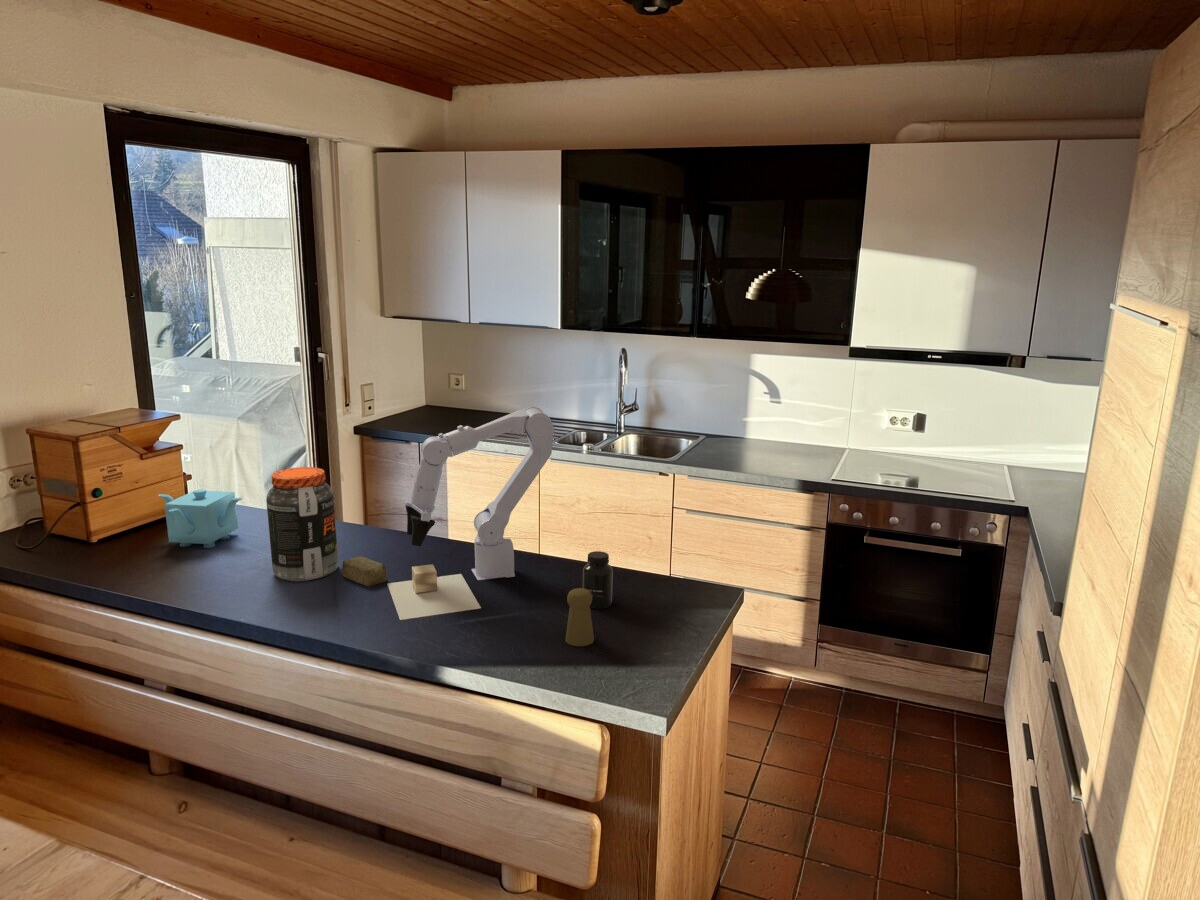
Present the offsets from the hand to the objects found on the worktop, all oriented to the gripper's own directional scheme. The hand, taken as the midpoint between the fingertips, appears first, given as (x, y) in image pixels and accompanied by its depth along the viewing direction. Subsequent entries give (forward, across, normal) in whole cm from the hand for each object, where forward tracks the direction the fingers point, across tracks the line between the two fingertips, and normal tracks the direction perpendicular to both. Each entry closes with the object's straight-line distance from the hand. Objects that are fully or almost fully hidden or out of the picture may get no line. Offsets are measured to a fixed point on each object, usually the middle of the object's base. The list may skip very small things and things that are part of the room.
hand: (413, 539), depth 204 cm
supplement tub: (+18, -16, -21) cm, 32 cm away
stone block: (+14, -5, -8) cm, 17 cm away
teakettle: (+25, -49, -46) cm, 72 cm away
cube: (+9, +7, +4) cm, 12 cm away
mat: (+10, +12, +5) cm, 16 cm away
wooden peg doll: (+3, +44, +29) cm, 53 cm away
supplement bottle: (0, +28, +39) cm, 48 cm away
